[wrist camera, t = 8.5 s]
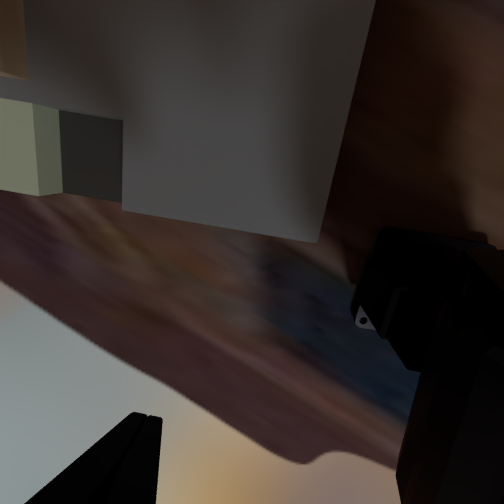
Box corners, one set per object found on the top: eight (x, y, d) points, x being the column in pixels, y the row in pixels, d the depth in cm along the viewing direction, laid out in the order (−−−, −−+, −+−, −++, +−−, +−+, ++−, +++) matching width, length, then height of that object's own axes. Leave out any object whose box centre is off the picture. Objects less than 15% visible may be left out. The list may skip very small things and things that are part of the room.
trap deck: (389, -100, 12) (411, -148, 10) (311, 234, 17) (317, 243, 15) (-63, -171, 12) (-124, -231, 10) (-17, 178, 17) (-52, 180, 15)
